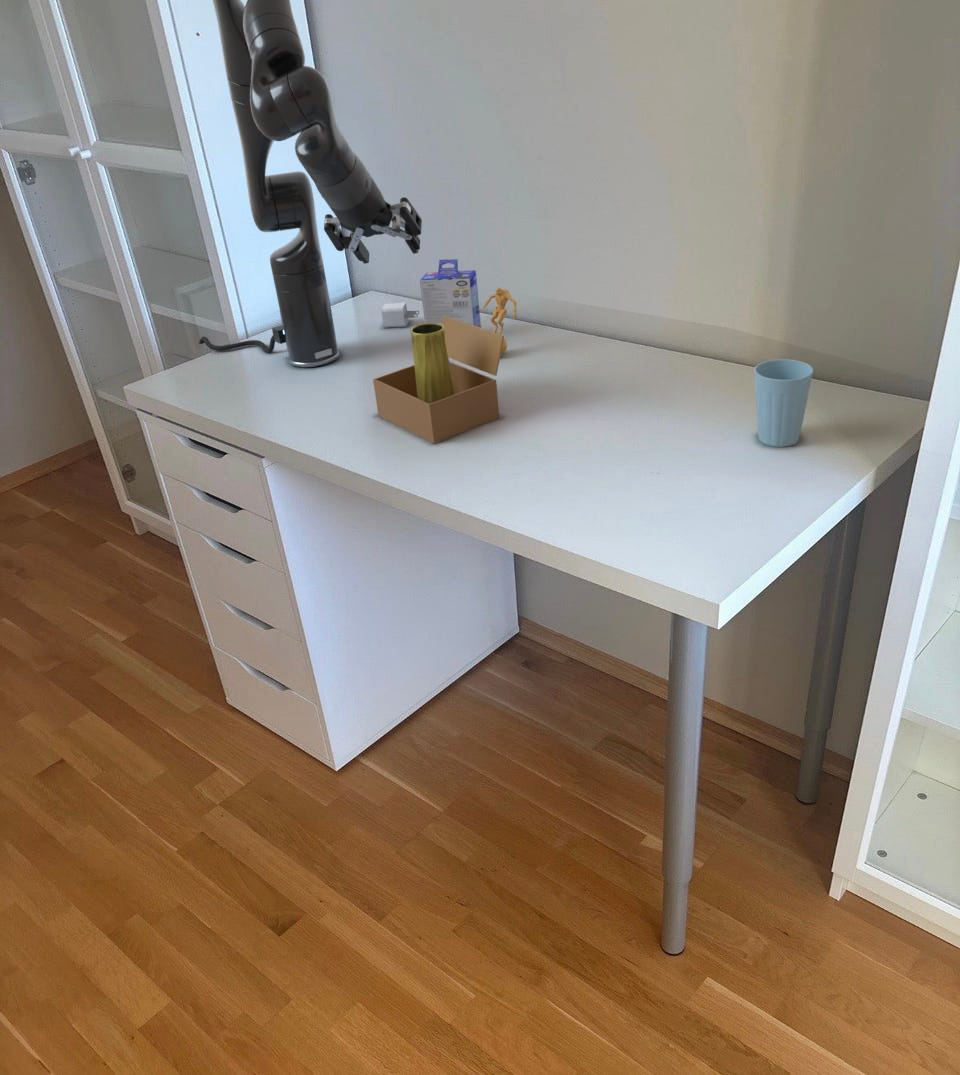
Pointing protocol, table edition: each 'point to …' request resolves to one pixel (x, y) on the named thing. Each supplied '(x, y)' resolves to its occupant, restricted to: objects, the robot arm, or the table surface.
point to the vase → (431, 362)
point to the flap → (472, 345)
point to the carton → (437, 403)
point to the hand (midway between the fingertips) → (391, 253)
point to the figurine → (501, 311)
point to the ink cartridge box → (450, 295)
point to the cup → (781, 400)
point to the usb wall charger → (396, 315)
